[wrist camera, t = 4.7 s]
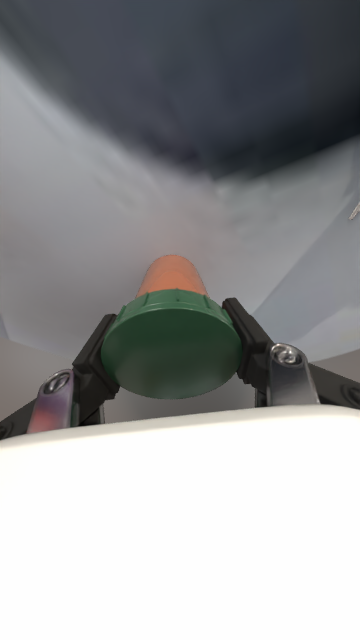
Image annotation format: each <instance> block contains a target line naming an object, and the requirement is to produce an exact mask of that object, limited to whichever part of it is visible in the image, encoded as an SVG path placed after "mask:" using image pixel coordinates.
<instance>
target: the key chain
mask: <svg viewBox="0 0 360 640" xmlns="http://www.w3.org/2000/svg"><path fill="white" fill-rule="evenodd" d="M359 211H360V202H359V203H358V205H357V207H356V208H355V210H354V211H353V213H352V214H351V216H350V217H349V219H351V220H352V219H353V218H354V217H355V216H356V214H357V213H358V212H359Z"/></svg>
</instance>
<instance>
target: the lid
mask: <svg viewBox="0 0 360 640" xmlns="http://www.w3.org/2000/svg"><path fill="white" fill-rule="evenodd" d="M232 324H233V322H232V320H231V319H230V317H229V315H228V313H227V312H226V310H225V309H222V308H221V307H220V306H219V305H218V304H217V303H216V302H214V301H213V300H211V299H210V298H208V297H207V295H205V294H204V295H202V294H199V293H196V292H193V291H188V290H182V289H178V288H176V289H165V290H158V291H153V292H150V293H148V292H146V293H145V294H144V295H142V296H140V297H138V298H136V299H134V300H133V301H131V302H130V303H128V304H127V305H126V306H125V305H124V306H123V307H122V309H121V311H120V312H119V314H118V316H117V318H116V319H115V321H114V323H112V325H111V326H110V328H109V330H108V332H107V334H106V335H105V337H104V342H103V344H102V348H101V361H102V365H103V367H104V369H105V371H106V372H107V374H108V375H109V376H110V377H111V379H112V380H113V381H114V382H115V383H117V384H118V385H120V386H121V387H123V388H125V389H126V390H128V391H131V392H133V393H135V394H138V395H141V396H145V397H150V398H157V399H183V398H189V397H194V396H198V395H202V394H205V393H207V392H210V391H212V390H214V389H216V388H218V387H220V386H221V385H223V384H224V383H226V382H227V381H228V380H229V379H230V378H231V377H232V376H233V375H234V374H235V373H236V371H237V370H238V368H239V366H240V363H241V359H242V354H243V346H242V343H241V339H240V338H239V336H238V334H237V332H236V330H235V329H234V327H233V325H232Z"/></svg>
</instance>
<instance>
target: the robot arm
mask: <svg viewBox="0 0 360 640" xmlns="http://www.w3.org/2000/svg"><path fill="white" fill-rule="evenodd" d="M222 309H225V310H226V312H227V313H228V315H229V317H230V319H231V320H232V322H233V324H232V325H233V327H234V329H235V330H236V332H237V334H238V336H239V338H240V339H241V343H242V346H243V354H242V359H241V363H240V366H239V368H238V370H237V371H236V372H237V375H238V377H239V378H240V379H243V382H244V384H251V385H252V387H254V388H255V408H250V409H240V410H230V411H221V412H211V413H202V414H192V415H182V416H174V417H164V418H154V419H145V420H136V421H127V422H118V423H109V424H105V418H104V407H103V403H104V401H105V400H110V399H114V397H115V394H116V393H118V391H119V388H120V385H118V384H117V383H115V382H114V381H113V380H112V379H111V377H110V376H109V375H108V374H107V372H106V371H105V369H104V367H103V365H102V361H101V348H102V344H103V342H104V337H105V335H106V334H107V332H108V330H109V328H110V326H111V325H112V323H114V321H115V319H116V318H117V316H118V315H116V314H108V315H105V316H104V317H103V319H102V320H101V322H100V323H99V325H98V326H97V328H96V329H95V331H94V332H93V334H92V335H91V337H90V338H89V340H88V341H87V343H86V344H85V346H84V347H83V349H82V350H81V351H80V353H79V354H78V356H77V357H76V359H75V360H74V362H73V363H72V365H73V366H74V367H73V369H72V370H71V369H65V370H61V371H59V372H57V373H55V374H53V375H52V376H50V377H49V378H48V379H47V380H46V381H45V382H44V383H43V384H42V385H41V387H40V389H39V392H38V396H37V398H36V399H34V400H33V401H31V402H30V403H28V404H27V405H25V406H23V407H22V408H20V409H19V410H17V411H16V412H15V413H13V414H11V415H10V416H8V417H7V418H5V419H4V420H2V421H1V422H0V640H360V383H358V382H355V381H353V380H350V379H348V378H345V377H343V376H340V375H338V374H335V373H332V372H330V371H327V370H325V369H322V368H320V367H317V366H315V365H312V364H310V363H308V360H307V358H306V356H305V354H304V353H303V352H302V351H300V350H299V349H298V348H296V347H294V346H292V345H288V344H284V343H276V344H274V342H273V341H272V340H271V339H270V337H269V336H268V335H267V334H266V333H265V331H264V330H263V329H262V328H261V326H260V325H259V324H258V323H257V321H256V320H255V319H254V318H253V317H252V316H251V315H249V314H248V313H247V312H246V311H245V309H244V308H243V307H242V305H241V304H240V303H239V302H238V300H237V299H236V298H227V299H226V300H225V301H223V303H222Z"/></svg>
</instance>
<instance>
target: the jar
mask: <svg viewBox="0 0 360 640" xmlns="http://www.w3.org/2000/svg"><path fill="white" fill-rule="evenodd" d="M176 288H178V289H182V290H188V291H193V292H196V293H199V294H202V295H204V294H205V295H207V297H208V298H210V297H209V295H208V293H207V291H206V288H205V286H204V284H203V282H202V280H201V278H200V276H199V274H198V271H197V269H196V268H195V266H194V265H193V264H192V263H191V262H190V261H189V260H187V259H186V258H184V257H181V256H178V255H166V256H163V257H160V258H158V259H157V260H155V261H154V262H153V263H152V264H151V265H150V267H149V268H148V270H147V272H146V275H145V277H144V279H143V281H142V283H141V286H140V288H139V290H138V292H137V294H136V297H135V299H136V298H138V297H140V296H142V295H144V294H145V293H146V292H148V293H150V292H153V291H158V290H165V289H176Z"/></svg>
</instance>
